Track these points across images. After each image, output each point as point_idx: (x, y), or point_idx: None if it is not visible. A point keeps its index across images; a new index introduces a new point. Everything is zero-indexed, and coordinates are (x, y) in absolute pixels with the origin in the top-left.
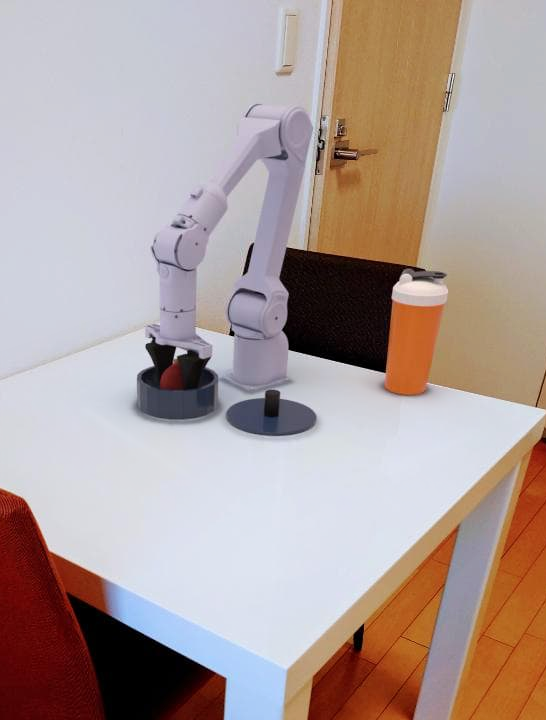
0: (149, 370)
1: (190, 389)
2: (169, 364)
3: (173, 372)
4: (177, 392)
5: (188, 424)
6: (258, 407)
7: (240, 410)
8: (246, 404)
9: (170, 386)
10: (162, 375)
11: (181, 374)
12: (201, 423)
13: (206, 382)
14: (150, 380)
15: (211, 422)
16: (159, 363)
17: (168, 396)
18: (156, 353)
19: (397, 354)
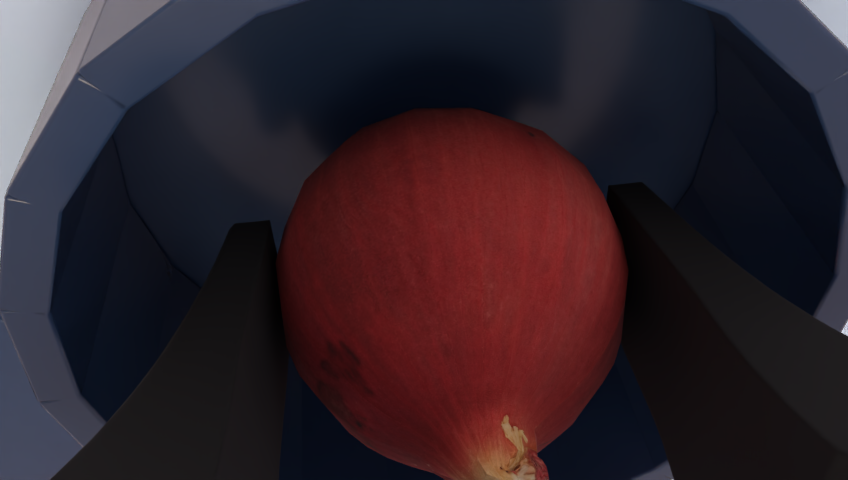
0: (831, 228)
1: (46, 278)
2: (666, 400)
3: (416, 339)
4: (38, 135)
5: (35, 25)
6: (24, 476)
7: (15, 396)
8: None
9: (366, 190)
10: (562, 243)
11: (344, 373)
12: (14, 120)
13: None
14: (780, 169)
15: (5, 186)
16: (708, 342)
17: (108, 24)
18: (779, 427)
19: None
